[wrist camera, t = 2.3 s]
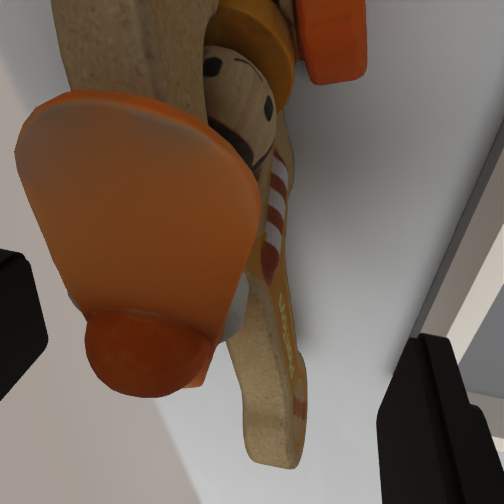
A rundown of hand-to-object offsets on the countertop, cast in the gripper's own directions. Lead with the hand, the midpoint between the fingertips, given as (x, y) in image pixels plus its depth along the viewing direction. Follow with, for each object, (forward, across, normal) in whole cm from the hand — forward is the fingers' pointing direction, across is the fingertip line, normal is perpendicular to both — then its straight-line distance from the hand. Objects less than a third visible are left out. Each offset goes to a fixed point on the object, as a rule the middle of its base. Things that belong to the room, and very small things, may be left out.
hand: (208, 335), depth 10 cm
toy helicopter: (+10, 0, -1) cm, 10 cm away
